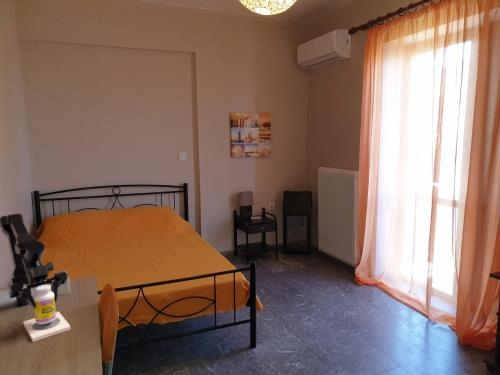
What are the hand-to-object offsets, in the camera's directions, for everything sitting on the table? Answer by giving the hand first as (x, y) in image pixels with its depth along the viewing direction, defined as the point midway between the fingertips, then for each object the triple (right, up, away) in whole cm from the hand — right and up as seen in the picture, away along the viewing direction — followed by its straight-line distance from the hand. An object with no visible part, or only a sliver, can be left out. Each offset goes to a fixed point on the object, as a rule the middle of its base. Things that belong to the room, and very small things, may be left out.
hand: (45, 304), depth 132 cm
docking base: (-1, -9, +2) cm, 9 cm away
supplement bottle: (-1, -7, +2) cm, 7 cm away
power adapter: (-10, -5, +32) cm, 34 cm away
